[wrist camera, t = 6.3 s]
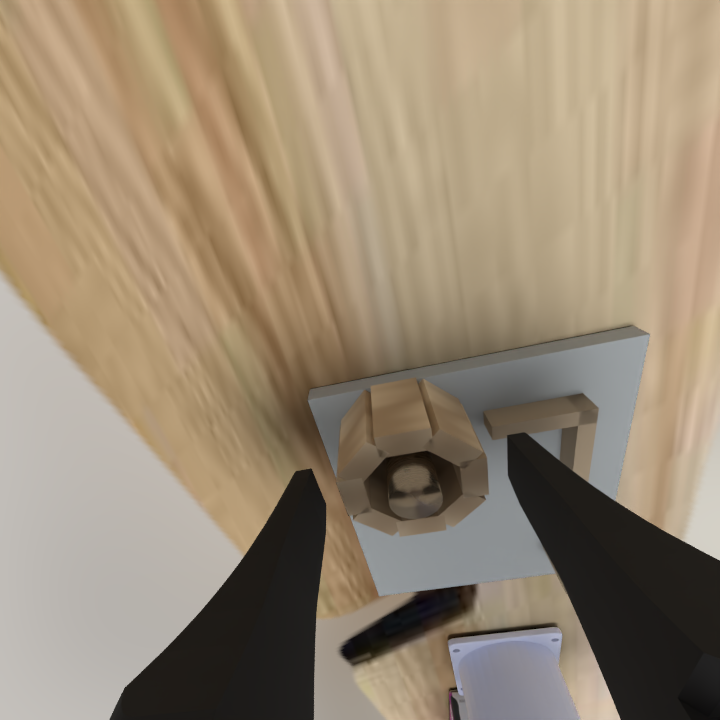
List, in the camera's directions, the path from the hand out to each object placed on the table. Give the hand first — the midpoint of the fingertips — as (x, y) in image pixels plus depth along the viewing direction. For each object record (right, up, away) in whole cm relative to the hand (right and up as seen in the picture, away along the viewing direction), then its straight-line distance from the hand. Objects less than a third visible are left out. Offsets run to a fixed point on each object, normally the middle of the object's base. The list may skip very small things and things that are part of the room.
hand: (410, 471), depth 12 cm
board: (+4, -2, +5) cm, 7 cm away
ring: (0, +1, +2) cm, 2 cm away
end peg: (0, +1, +2) cm, 2 cm away
